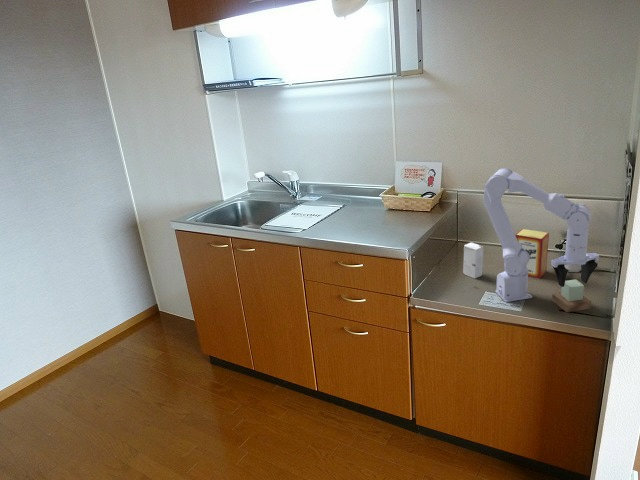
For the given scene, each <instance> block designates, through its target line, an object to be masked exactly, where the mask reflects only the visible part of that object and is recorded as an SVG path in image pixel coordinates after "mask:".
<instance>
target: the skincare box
mask: <svg viewBox="0 0 640 480" xmlns="http://www.w3.org/2000/svg"><path fill="white" fill-rule="evenodd" d="M483 261H484V246H483V245H480V244H477V243H474V242H469V243H466V244H464V246H463V266H462V270H463V271H462V274H464V275H465V276H468V277H470V278H472V279H477V278H479V277H481V276H482V275H483V265H484V262H483Z"/></svg>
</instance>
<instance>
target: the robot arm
mask: <svg viewBox="0 0 640 480" xmlns="http://www.w3.org/2000/svg"><path fill="white" fill-rule="evenodd" d="M507 190H508V192H507ZM505 192H507V193H517V192H520V193H523V194H524V195H526V196H527V197H530V198H532V199H534V200H536V201H538V202H541V203H542V204H543V206H544V209H545V210H546V211H548V212H550V213H552V214H554V215H555V216H556V217H559V218H560V219H562V220H565V221H566V223H567V225H568V227H567V230H566V232H567V233H566V244H565V252H564V253H565V254H564V255H562V256H560V257H559V256H558V258H553V259H551V262H550V266H552V268H553V271H554V273H555V275H556V277H557V283H558V285H559V286H560V287H561V288H562V287H564V285H565V281H566V277H567V274H568V273H569V272H568V269H566V268H565V265H568V264H579V265H581V271H580V282H581V283H583V284H587V283H588V281H589V279H590V277H591V275H592V274H593V272H594V271H595V269H597V267H598V265H599V264H598V263H597V262H599V259H600V255H599V254H598V253H596V252H593V253H587V250H588V240H589V234H590V233H589V232H590V231H589V229H590V225H589V224H590V220H591V217H592V212H591V211H592V210H591V209H590V208H589V207H588V206H586V205H585V204H582V203H581V204H580V203H579V202H573V201H572V200H570V199H568V198H567V197H565V195H566V194H563V193H560V194H559V193H558V192H554V193H549V192H547V191H546V190H544V189H542V188H541V187H539V186H538V185H536V184H534V183H533V182H531V181H530V180H528V179H527V178H525V177H523V176H522V175H521V174H519V173H518V172H516V171H513V170H511V169H510V168H507V167H501V168H500V169H497V170H496V172H495V173H494V174H493V175H491V176H490V177H489V178H488V180H487V181H486V183H485V184H484V193H483V197H482V198H483V199H482V202H483V205H484V208H485V209H486V212H487V215H488V217H489V219H490V222H491V224H492V227H493V229H494V230H495V231H494V232H495V233H496V236H497V239H498V241H499V243H500V245H501V247H502V260H503V262H504V264H503V268H504V271H502V272H500V273H498V274H497V276H496V290H495V293H496V294H497V295H498V296H499V297H500V298H501V299H502V300H503V301H504V302H507V303H509V302H514V301H520V300H527V299H532V298H533V295H532V294H530V292H528V283H529V276H528V269H527V267H526V265H527V263H528V262H529V260H530V256H529V254H528V252H527V251H526V250H525V249H524V248H523V246H522V244H520V243H519V242H518V241H517V238H516V236H515V235H516V234H515V231H514V229H513V226H512V225H511V222H510V219H509V216H508V215H507V212H506V209H505V207H504V205H503V203H502V199H503V196H504V194H505Z"/></svg>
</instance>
